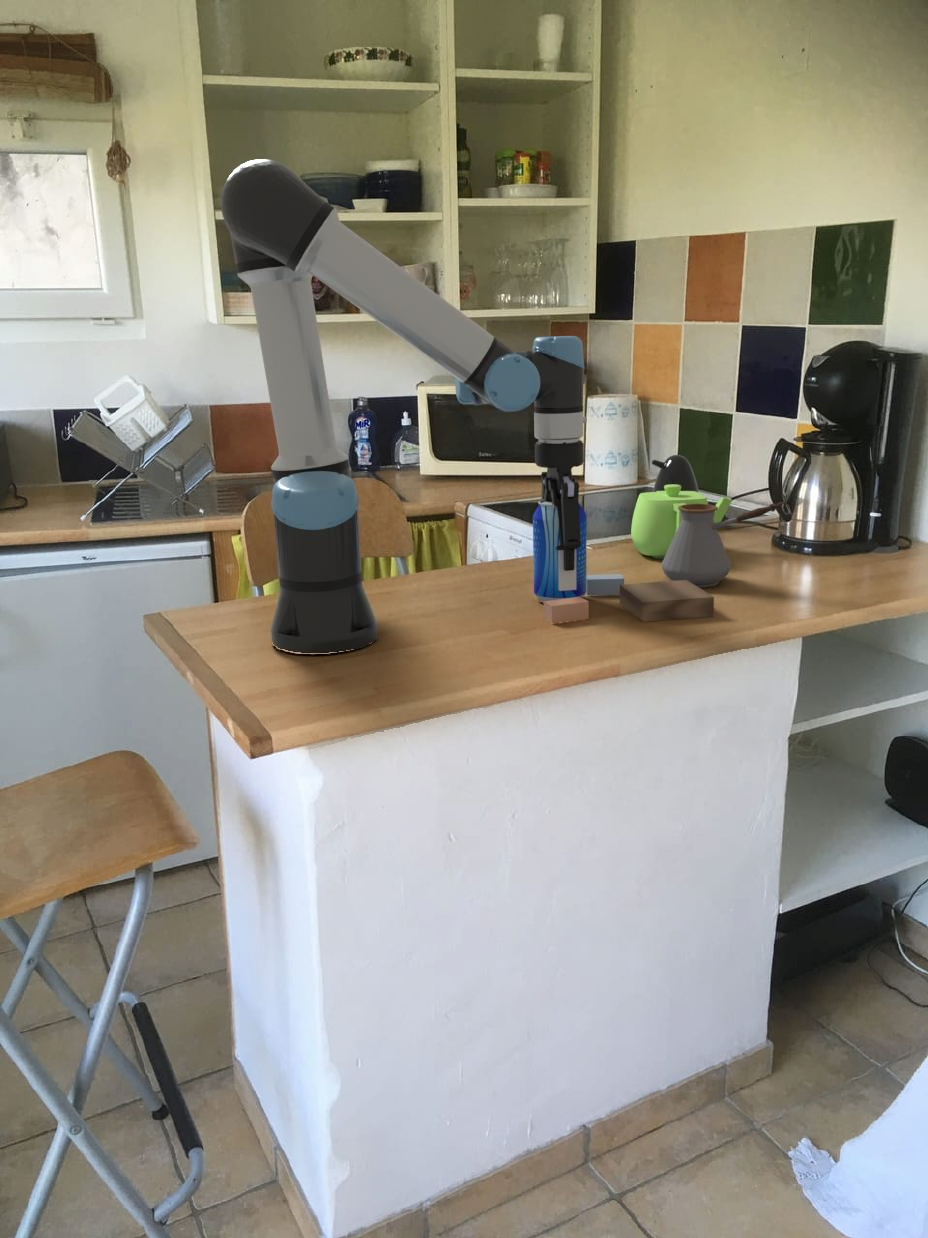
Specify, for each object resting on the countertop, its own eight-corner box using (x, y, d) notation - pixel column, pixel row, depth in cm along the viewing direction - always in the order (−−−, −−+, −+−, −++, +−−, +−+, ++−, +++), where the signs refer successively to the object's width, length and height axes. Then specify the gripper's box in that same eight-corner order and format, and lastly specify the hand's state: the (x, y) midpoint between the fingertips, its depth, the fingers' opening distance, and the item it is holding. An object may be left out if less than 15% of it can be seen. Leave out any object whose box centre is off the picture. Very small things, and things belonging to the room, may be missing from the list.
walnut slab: (642, 621, 150) (643, 602, 150) (619, 603, 161) (619, 584, 160) (713, 616, 152) (714, 596, 151) (685, 597, 162) (686, 579, 162)
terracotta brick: (551, 625, 151) (551, 606, 150) (543, 620, 154) (543, 601, 153) (588, 620, 153) (588, 601, 152) (580, 615, 155) (579, 596, 155)
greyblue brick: (587, 597, 166) (587, 579, 165) (584, 592, 168) (584, 575, 168) (624, 596, 166) (624, 578, 165) (621, 591, 168) (621, 574, 168)
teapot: (715, 540, 204) (717, 475, 200) (745, 562, 185) (748, 491, 181) (623, 543, 203) (624, 478, 200) (644, 566, 184) (645, 495, 181)
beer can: (579, 608, 159) (579, 506, 154) (527, 605, 161) (526, 505, 157) (591, 594, 166) (591, 497, 162) (541, 591, 169) (540, 496, 164)
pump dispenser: (643, 522, 223) (645, 453, 219) (690, 520, 224) (692, 450, 220) (657, 531, 214) (659, 458, 209) (705, 529, 215) (708, 456, 210)
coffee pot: (648, 584, 172) (649, 496, 167) (681, 571, 180) (684, 486, 176) (768, 603, 158) (773, 507, 154) (798, 587, 166) (804, 496, 162)
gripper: (602, 446, 147) (602, 597, 154) (565, 432, 167) (565, 566, 174) (552, 448, 146) (553, 601, 152) (520, 434, 166) (522, 569, 172)
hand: (560, 582), depth 163 cm, fingers closed on beer can, 8 cm apart
